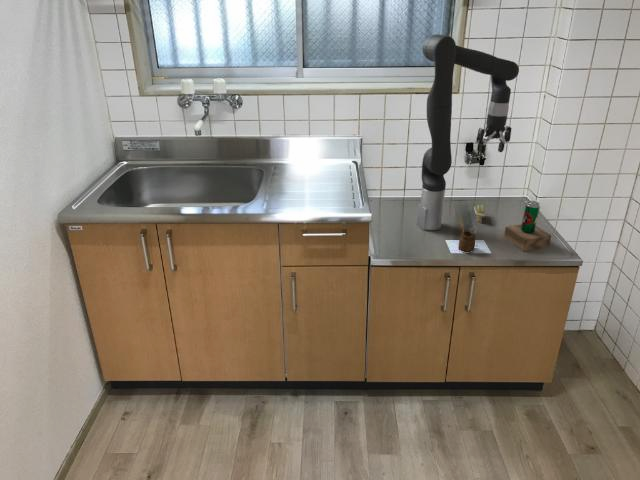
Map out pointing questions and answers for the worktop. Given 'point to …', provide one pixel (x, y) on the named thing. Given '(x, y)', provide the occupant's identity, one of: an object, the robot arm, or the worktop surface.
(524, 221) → the soda can
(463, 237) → the utensil holder
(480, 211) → the grey flat gold-topped slab
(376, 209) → the worktop surface
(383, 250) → the worktop surface
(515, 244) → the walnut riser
